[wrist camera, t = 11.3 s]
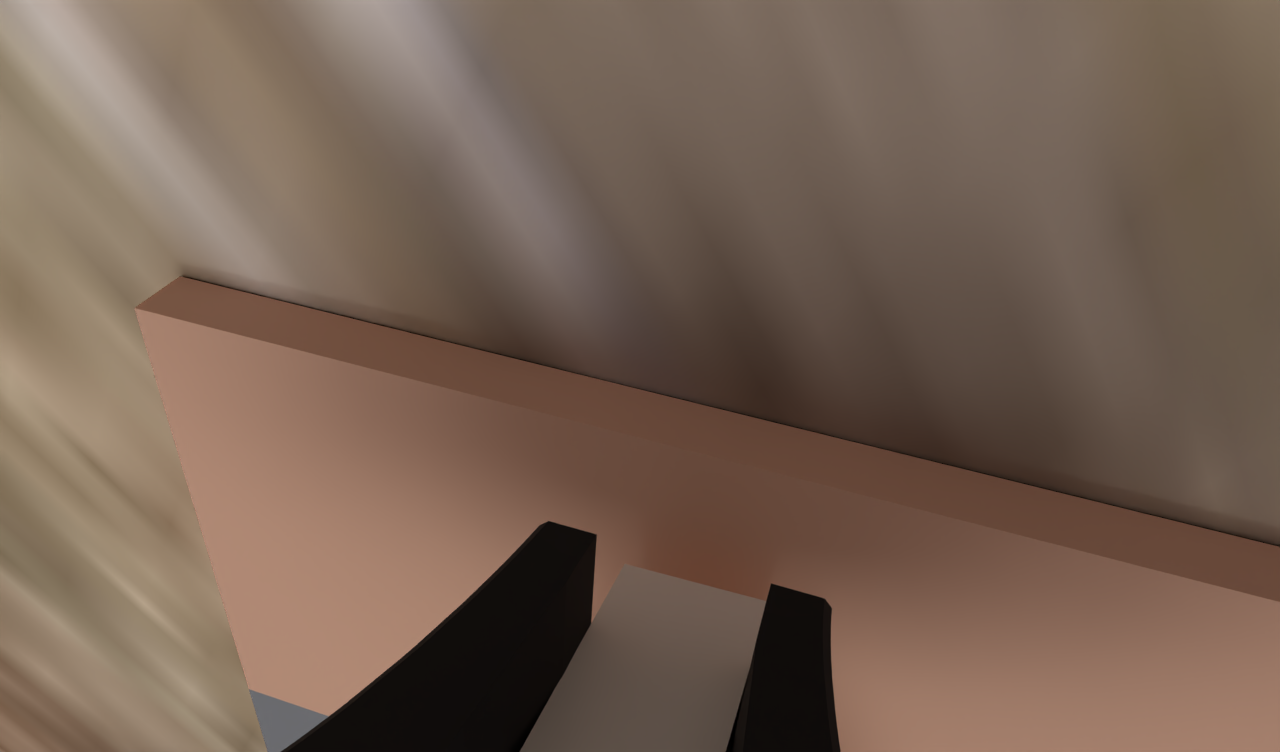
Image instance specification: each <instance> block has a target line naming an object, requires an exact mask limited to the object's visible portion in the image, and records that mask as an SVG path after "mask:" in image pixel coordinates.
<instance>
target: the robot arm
mask: <svg viewBox="0 0 1280 752" xmlns="http://www.w3.org/2000/svg"><path fill="white" fill-rule="evenodd" d="M596 540H597V534H593V533H590V532H586V531H583V530H579V529H576V528H572V527H569V526H565V525H561V524H558V523H554V522H551V521H547V522H545V523H543V524H541V525H539V526H538V527H537V529H536V530H535V531H534V532H533V533H532V534H531V535H530V536H529V537H528V538H527V539H526V540H525V541H524V543H523V544H522V545H521V546H520V547H519V548H518V549H517V550H516V551H515V552H514V553H513V554H512V555H511V556H510V557H509V558H508V559H507V560H506V561H505V562H504V563H503V564H502V565H501V566H500V567H499V568H498V569H497V570H496V571H495V572H494V573H493V574H492V575H491V576H490V577H489V578H488V579H487V580H486V581H485V582H484V583H483V584H482V585H481V586H480V587H479V588H478V589H477V590H476V591H475V592H474V593H473V594H472V595H470V596H469V597H468V598H467V599H466V600H465V601H464V602H463V603H462V604H461V605H460V606H459V607H458V608H457V609H456V610H454V611H453V612H452V613H451V614H450V615H449V616H448V617H447V618H446V619H444V620H443V621H442V622H441V623H440V624H439V625H438V626H437V627H436V628H435V629H433V630H432V631H431V632H430V633H429V634H428V635H427V636H426V637H425V638H423V639H422V640H421V641H420V642H419V643H418V644H417V645H416V646H415V647H413V648H412V649H411V650H410V651H409V652H408V653H406V654H405V655H404V656H403V657H402V658H401V659H399V660H398V661H397V662H396V663H394V664H393V665H392V666H391V667H390V668H388V669H387V670H386V671H385V672H383V673H382V674H381V675H380V676H379V677H377V678H376V679H375V680H374V681H372V682H371V683H370V684H369V685H368V686H366V687H365V688H364V689H363V690H361V691H360V692H359V693H358V694H357V695H355V696H354V697H353V698H352V699H350V700H349V701H348V702H347V703H346V704H344V705H343V706H342V707H340V708H339V709H338V710H336V711H335V712H334V713H333V714H331V715H330V716H329V717H327V718H326V719H325V720H323V721H322V722H321V723H319V724H318V725H317V726H315V727H314V728H313V729H311V730H310V731H309V732H307V733H306V734H305V735H303V736H302V737H300V738H299V739H298V740H296V741H295V742H294V743H292V744H291V745H289V746H288V747H287V748H285V749H284V750H282V751H281V752H520V750H521V748H522V746H523V745H524V743H525V741H526V739H527V738H528V736H529V734H530V732H531V730H532V729H533V727H534V725H535V723H536V721H537V720H538V718H539V716H540V714H541V713H542V711H543V709H544V707H545V705H546V704H547V702H548V700H549V698H550V696H551V695H552V693H553V691H554V689H555V687H556V686H557V684H558V682H559V681H560V679H561V678H562V676H563V675H564V673H565V671H566V669H567V667H568V665H569V663H570V661H571V659H572V658H573V656H574V654H575V652H576V650H577V648H578V646H579V645H580V643H581V641H582V639H583V637H584V636H585V634H586V632H587V630H588V629H589V627H590V625H591V619H592V603H593V587H594V571H595V556H596ZM831 616H832V607H831V606H830V605H829V603H828V602H827V601H826V599H825V598H822V597H818V596H814V595H811V594H807V593H804V592H800V591H797V590H793V589H789V588H786V587H782V586H779V585H775V584H772V583H771V585H770V589H769V593H768V597H767V601H766V604H765V608H764V612H763V616H762V620H761V624H760V628H759V631H758V635H757V639H756V644H755V648H754V652H753V656H752V661H751V665H750V669H749V674H748V678H747V682H746V686H745V691H744V695H743V699H742V704H741V708H740V712H739V716H738V721H737V725H736V729H735V734H734V738H733V742H732V746H731V751H730V752H841V750H840V744H839V736H838V729H837V721H836V712H835V702H834V691H833V680H832V664H831Z"/></svg>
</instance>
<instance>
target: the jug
mask: <svg viewBox="0 0 1280 752" xmlns="http://www.w3.org/2000/svg"><path fill="white" fill-rule="evenodd" d="M765 604H766V601H764V600H760V599H757V598H753V597H749V596H745V595H741V594H738V593H734V592H730V591H726V590H722V589H719V588H715V587H711V586H707V585H703V584H700V583H696V582H692V581H688V580H685V579H681V578H677V577H673V576H669V575H666V574H662V573H658V572H654V571H650V570H647V569H643V568H639V567H635V566H632V565H628V564H624V566H623V568H622V570H621V571H620V573H619V575H618V577H617V578H616V580H615V582H614V584H613V586H612V587H611V589H610V591H609V593H608V595H607V596H606V598H605V600H604V602H603V603H602V605H601V607H600V609H599V611H598V612H597V614H596V616H595V618H594V620H593V621H592V623H591V625H590V627H589V629H588V630H587V632H586V634H585V636H584V637H583V639H582V641H581V643H580V645H579V646H578V648H577V650H576V652H575V654H574V656H573V658H572V659H571V661H570V663H569V665H568V667H567V669H566V671H565V673H564V675H563V676H562V678H561V679H560V681H559V682H558V684H557V686H556V687H555V689H554V691H553V693H552V695H551V696H550V698H549V700H548V702H547V704H546V705H545V707H544V709H543V711H542V713H541V714H540V716H539V718H538V720H537V721H536V723H535V725H534V727H533V729H532V730H531V732H530V734H529V736H528V738H527V739H526V741H525V743H524V745H523V746H522V748H521V750H520V752H730V751H731V746H732V742H733V738H734V734H735V729H736V725H737V721H738V716H739V712H740V708H741V704H742V699H743V695H744V691H745V686H746V682H747V678H748V674H749V669H750V665H751V661H752V656H753V652H754V648H755V644H756V639H757V635H758V631H759V628H760V624H761V620H762V616H763V612H764V608H765Z"/></svg>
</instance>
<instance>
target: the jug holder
mask: <svg viewBox="0 0 1280 752" xmlns="http://www.w3.org/2000/svg"><path fill="white" fill-rule="evenodd" d="M135 312H136V315H137V318H138V322H139V325H140V328H141V332H142V335H143V338H144V342H145V345H146V348H147V352H148V355H149V358H150V362H151V365H152V368H153V371H154V375H155V378H156V381H157V385H158V388H159V391H160V395H161V398H162V401H163V405H164V408H165V411H166V415H167V418H168V421H169V425H170V428H171V431H172V435H173V438H174V441H175V445H176V448H177V451H178V455H179V458H180V461H181V465H182V468H183V471H184V475H185V478H186V481H187V485H188V488H189V491H190V495H191V498H192V501H193V505H194V508H195V511H196V515H197V518H198V521H199V525H200V528H201V531H202V534H203V538H204V541H205V544H206V548H207V551H208V554H209V558H210V561H211V564H212V568H213V571H214V574H215V578H216V581H217V584H218V588H219V591H220V594H221V598H222V601H223V604H224V608H225V611H226V614H227V618H228V621H229V624H230V628H231V631H232V634H233V638H234V641H235V644H236V648H237V651H238V654H239V658H240V661H241V664H242V668H243V671H244V674H245V678H246V681H247V684H248V688H249V691H250V694H251V697H252V701H253V704H254V707H255V711H256V714H257V717H258V721H259V724H260V727H261V731H262V734H263V737H264V741H265V744H266V747H267V751H268V752H281V751H282V750H284V749H285V748H287V747H288V746H289V745H291V744H292V743H294V742H295V741H296V740H298V739H299V738H300V737H302V736H303V735H305V734H306V733H307V732H309V731H310V730H311V729H313V728H314V727H315V726H317V725H318V724H319V723H321V722H322V721H323V720H325V719H326V718H327V717H329V716H330V715H331V714H333V713H334V712H335V711H336V710H338V709H339V708H340V707H342V706H343V705H344V704H346V703H347V702H348V701H349V700H350V699H352V698H353V697H354V696H355V695H357V694H358V693H359V692H360V691H361V690H363V689H364V688H365V687H366V686H368V685H369V684H370V683H371V682H372V681H374V680H375V679H376V678H377V677H379V676H380V675H381V674H382V673H383V672H385V671H386V670H387V669H388V668H390V667H391V666H392V665H393V664H394V663H396V662H397V661H398V660H399V659H401V658H402V657H403V656H404V655H405V654H406V653H408V652H409V651H410V650H411V649H412V648H413V647H415V646H416V645H417V644H418V643H419V642H420V641H421V640H422V639H423V638H425V637H426V636H427V635H428V634H429V633H430V632H431V631H432V630H433V629H435V628H436V627H437V626H438V625H439V624H440V623H441V622H442V621H443V620H444V619H446V618H447V617H448V616H449V615H450V614H451V613H452V612H453V611H454V610H456V609H457V608H458V607H459V606H460V605H461V604H462V603H463V602H464V601H465V600H466V599H467V598H468V597H469V596H470V595H472V594H473V593H474V592H475V591H476V590H477V589H478V588H479V587H480V586H481V585H482V584H483V583H484V582H485V581H486V580H487V579H488V578H489V577H490V576H491V575H492V574H493V573H494V572H495V571H496V570H497V569H498V568H499V567H500V566H501V565H502V564H503V563H504V562H505V561H506V560H507V559H508V558H509V557H510V556H511V555H512V554H513V553H514V552H515V551H516V550H517V549H518V548H519V547H520V546H521V545H522V544H523V543H524V541H525V540H526V539H527V538H528V537H529V536H530V535H531V534H532V533H533V532H534V531H535V530H536V529H537V527H538V526H539V525H541V524H543V523H545V522H547V521H551V522H554V523H558V524H561V525H565V526H569V527H572V528H576V529H579V530H583V531H586V532H590V533H593V534H597V540H596V556H595V571H594V587H593V603H592V619H591V623H592V621H593V620H594V618H595V616H596V614H597V612H598V611H599V609H600V607H601V605H602V603H603V602H604V600H605V598H606V596H607V595H608V593H609V591H610V589H611V587H612V586H613V584H614V582H615V580H616V578H617V577H618V575H619V573H620V571H621V570H622V568H623V566H624V564H628V565H632V566H635V567H639V568H643V569H647V570H650V571H654V572H658V573H662V574H666V575H669V576H673V577H677V578H681V579H685V580H688V581H692V582H696V583H700V584H703V585H707V586H711V587H715V588H719V589H722V590H726V591H730V592H734V593H738V594H741V595H745V596H749V597H753V598H757V599H760V600H764V601H767V597H768V593H769V589H770V585H771V583H772V584H775V585H779V586H782V587H786V588H789V589H793V590H797V591H800V592H804V593H807V594H811V595H814V596H818V597H822V598H825V599H826V601H827V602H828V603H829V605H830V606H831V607H832V616H831V664H832V680H833V691H834V702H835V712H836V721H837V729H838V736H839V744H840V750H841V752H1280V547H1278V546H1274V545H1270V544H1266V543H1262V542H1258V541H1254V540H1250V539H1245V538H1241V537H1237V536H1233V535H1229V534H1225V533H1221V532H1217V531H1213V530H1209V529H1205V528H1201V527H1197V526H1193V525H1189V524H1185V523H1180V522H1176V521H1172V520H1168V519H1164V518H1160V517H1156V516H1152V515H1148V514H1144V513H1140V512H1136V511H1132V510H1128V509H1124V508H1120V507H1115V506H1111V505H1107V504H1103V503H1099V502H1095V501H1091V500H1087V499H1083V498H1079V497H1075V496H1071V495H1067V494H1063V493H1059V492H1055V491H1050V490H1046V489H1042V488H1038V487H1034V486H1030V485H1026V484H1022V483H1018V482H1014V481H1010V480H1006V479H1002V478H998V477H994V476H989V475H985V474H981V473H977V472H973V471H969V470H965V469H961V468H957V467H953V466H949V465H945V464H941V463H937V462H933V461H929V460H924V459H920V458H916V457H912V456H908V455H904V454H900V453H896V452H892V451H888V450H884V449H880V448H876V447H872V446H868V445H864V444H859V443H855V442H851V441H847V440H843V439H839V438H835V437H831V436H827V435H823V434H819V433H815V432H811V431H807V430H803V429H799V428H794V427H790V426H786V425H782V424H778V423H774V422H770V421H766V420H762V419H758V418H754V417H750V416H746V415H742V414H738V413H733V412H729V411H725V410H721V409H717V408H713V407H709V406H705V405H701V404H697V403H693V402H689V401H685V400H681V399H677V398H673V397H668V396H664V395H660V394H656V393H652V392H648V391H644V390H640V389H636V388H632V387H628V386H624V385H620V384H616V383H612V382H608V381H603V380H599V379H595V378H591V377H587V376H583V375H579V374H575V373H571V372H567V371H563V370H559V369H555V368H551V367H547V366H543V365H538V364H534V363H530V362H526V361H522V360H518V359H514V358H510V357H506V356H502V355H498V354H494V353H490V352H486V351H482V350H478V349H473V348H469V347H465V346H461V345H457V344H453V343H449V342H445V341H441V340H437V339H433V338H429V337H425V336H421V335H417V334H412V333H408V332H404V331H400V330H396V329H392V328H388V327H384V326H380V325H376V324H372V323H368V322H364V321H360V320H356V319H352V318H347V317H343V316H339V315H335V314H331V313H327V312H323V311H319V310H315V309H311V308H307V307H303V306H299V305H295V304H291V303H287V302H282V301H278V300H274V299H270V298H266V297H262V296H258V295H254V294H250V293H246V292H242V291H238V290H234V289H230V288H226V287H222V286H217V285H213V284H209V283H205V282H201V281H197V280H193V279H189V278H185V277H181V276H180V277H178V278H177V279H175V280H174V281H173V282H171V283H170V284H168V285H167V286H165V287H164V288H162V289H161V290H160V291H158V292H157V293H155V294H154V295H152V296H151V297H150V298H148V299H147V300H145V301H144V302H142V303H141V304H139V305H138V306H137V307H135Z"/></svg>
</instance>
